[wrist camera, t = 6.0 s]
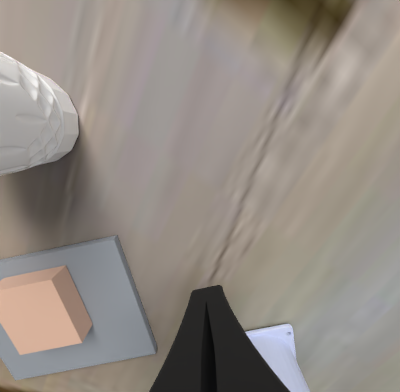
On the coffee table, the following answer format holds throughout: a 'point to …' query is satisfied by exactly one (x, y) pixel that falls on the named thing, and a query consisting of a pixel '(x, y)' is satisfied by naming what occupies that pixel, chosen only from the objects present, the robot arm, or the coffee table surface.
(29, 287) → the block
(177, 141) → the coffee table surface
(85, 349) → the felt mat
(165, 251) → the coffee table surface
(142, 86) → the coffee table surface
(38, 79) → the white cup
